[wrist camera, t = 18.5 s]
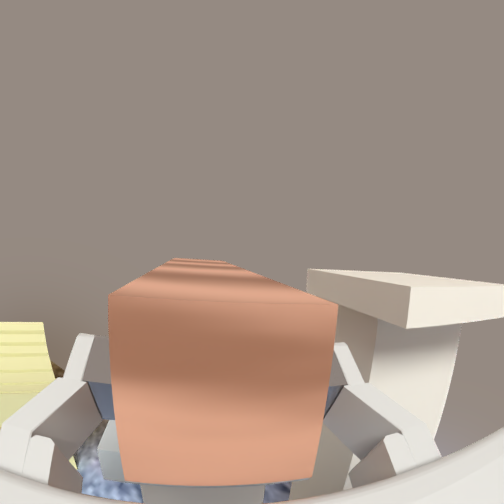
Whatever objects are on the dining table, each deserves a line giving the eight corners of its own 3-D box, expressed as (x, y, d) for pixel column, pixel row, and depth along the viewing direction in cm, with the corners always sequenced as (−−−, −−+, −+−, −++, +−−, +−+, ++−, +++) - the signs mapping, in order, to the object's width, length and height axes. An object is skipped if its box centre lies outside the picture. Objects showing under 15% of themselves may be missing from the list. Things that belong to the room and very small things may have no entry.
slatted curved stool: (-17, 408, 38) (-32, 321, 38) (52, 405, 49) (42, 322, 49) (-13, 514, 16) (-64, 392, 16) (95, 505, 26) (69, 391, 26)
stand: (397, 579, 15) (514, 285, 15) (158, 619, 11) (82, 272, 11) (348, 513, 29) (400, 272, 29) (158, 530, 25) (139, 259, 25)
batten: (311, 477, 6) (338, 304, 6) (125, 480, 5) (108, 294, 5) (220, 308, 30) (222, 260, 30) (172, 306, 29) (174, 257, 29)
